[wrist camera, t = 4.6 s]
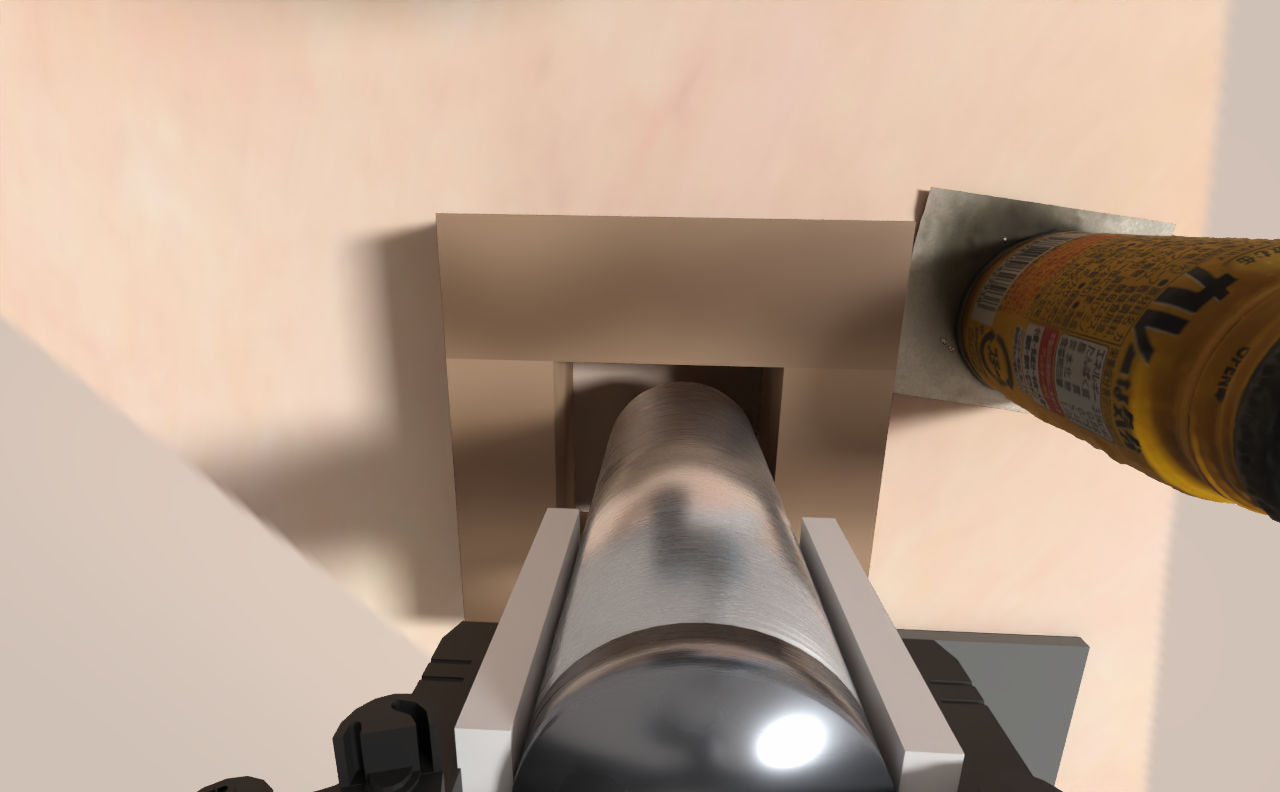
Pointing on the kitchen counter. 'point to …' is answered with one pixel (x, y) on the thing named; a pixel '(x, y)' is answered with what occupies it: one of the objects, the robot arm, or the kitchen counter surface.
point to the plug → (694, 627)
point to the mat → (1022, 687)
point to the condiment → (1104, 336)
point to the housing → (663, 356)
